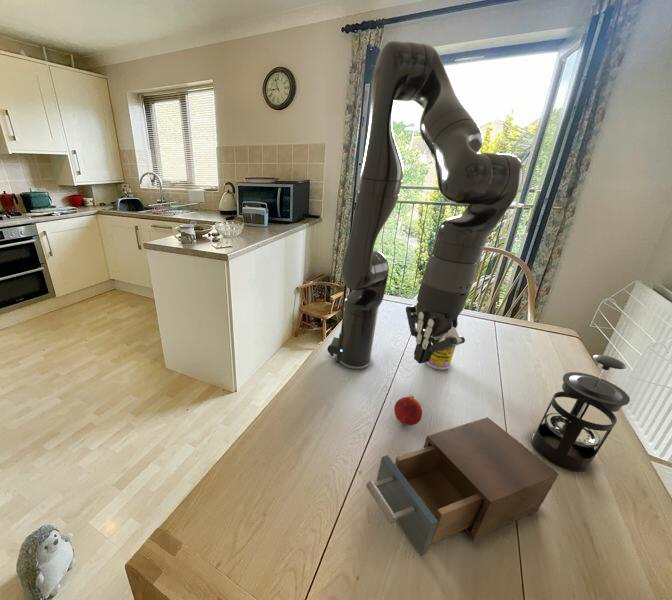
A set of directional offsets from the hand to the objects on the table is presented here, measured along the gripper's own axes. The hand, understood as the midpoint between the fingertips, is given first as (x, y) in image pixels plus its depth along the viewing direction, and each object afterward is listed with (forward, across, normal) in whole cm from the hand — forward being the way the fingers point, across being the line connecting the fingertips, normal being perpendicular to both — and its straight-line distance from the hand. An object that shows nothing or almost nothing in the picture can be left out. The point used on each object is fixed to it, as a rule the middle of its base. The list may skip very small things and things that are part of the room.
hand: (420, 360), depth 61 cm
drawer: (+17, +17, -9) cm, 26 cm away
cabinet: (+18, +16, +4) cm, 24 cm away
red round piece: (+19, 0, +2) cm, 19 cm away
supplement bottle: (+20, -17, +26) cm, 37 cm away
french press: (+18, +15, +28) cm, 37 cm away
